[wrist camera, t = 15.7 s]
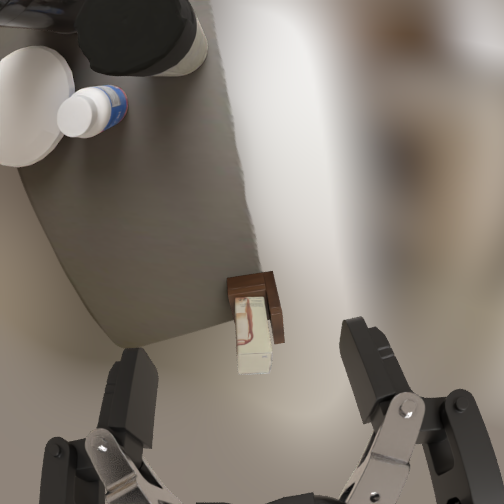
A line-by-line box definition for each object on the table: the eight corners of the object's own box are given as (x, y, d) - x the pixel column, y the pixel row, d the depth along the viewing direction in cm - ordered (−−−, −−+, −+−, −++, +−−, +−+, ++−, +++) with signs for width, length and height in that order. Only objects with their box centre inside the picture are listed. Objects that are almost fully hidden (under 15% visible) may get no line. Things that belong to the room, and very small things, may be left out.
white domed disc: (27, 17, 15) (49, 27, 21) (-49, 118, 17) (-22, 110, 22) (93, 104, 24) (107, 102, 30) (9, 199, 25) (31, 181, 31)
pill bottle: (104, 135, 31) (68, 156, 22) (82, 103, 28) (41, 116, 20) (138, 108, 29) (108, 120, 21) (115, 75, 27) (78, 77, 19)
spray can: (198, 16, 24) (166, -52, 8) (217, 65, 28) (206, 44, 11) (144, 39, 25) (55, 7, 8) (162, 86, 28) (89, 100, 12)
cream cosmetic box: (233, 296, 41) (237, 353, 33) (264, 295, 42) (274, 351, 34) (234, 321, 44) (237, 375, 36) (262, 320, 45) (270, 374, 36)
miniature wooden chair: (227, 277, 45) (228, 321, 37) (272, 270, 45) (282, 312, 37) (234, 307, 48) (236, 350, 41) (275, 300, 48) (284, 342, 41)
